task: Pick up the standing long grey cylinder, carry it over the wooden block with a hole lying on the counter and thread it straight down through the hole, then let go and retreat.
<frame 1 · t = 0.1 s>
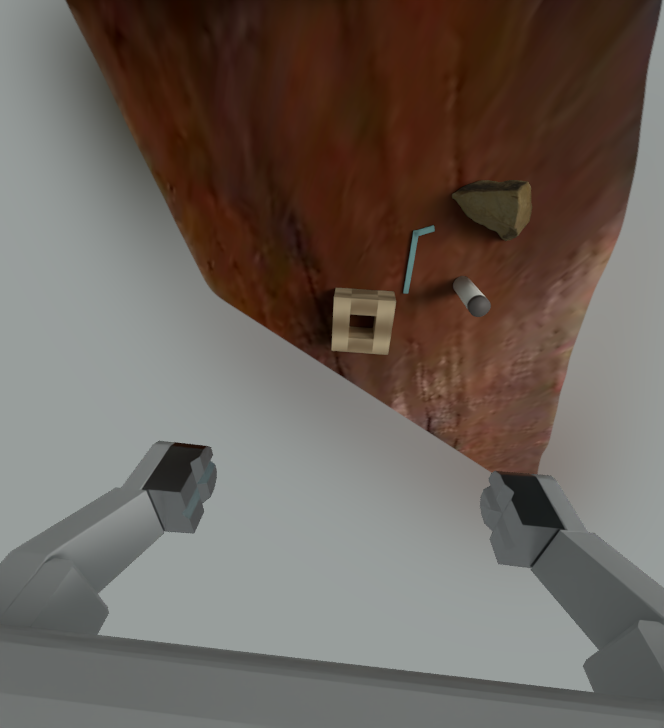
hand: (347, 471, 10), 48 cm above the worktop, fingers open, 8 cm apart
hex key: (410, 262, 53), on the worktop
wooden block with hole: (362, 316, 58), on the worktop
long grey cylinder: (461, 284, 54), on the worktop
rock: (486, 212, 48), on the worktop
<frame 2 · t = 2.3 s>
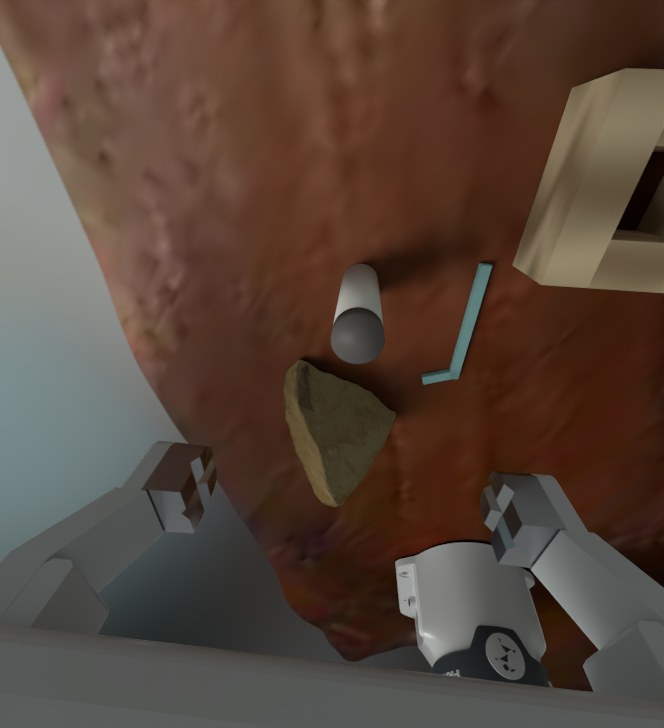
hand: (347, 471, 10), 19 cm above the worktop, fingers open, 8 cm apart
hex key: (466, 325, 26), on the worktop
wooden block with hole: (618, 191, 21), on the worktop
long grey cylinder: (360, 281, 25), on the worktop
rock: (339, 391, 31), on the worktop
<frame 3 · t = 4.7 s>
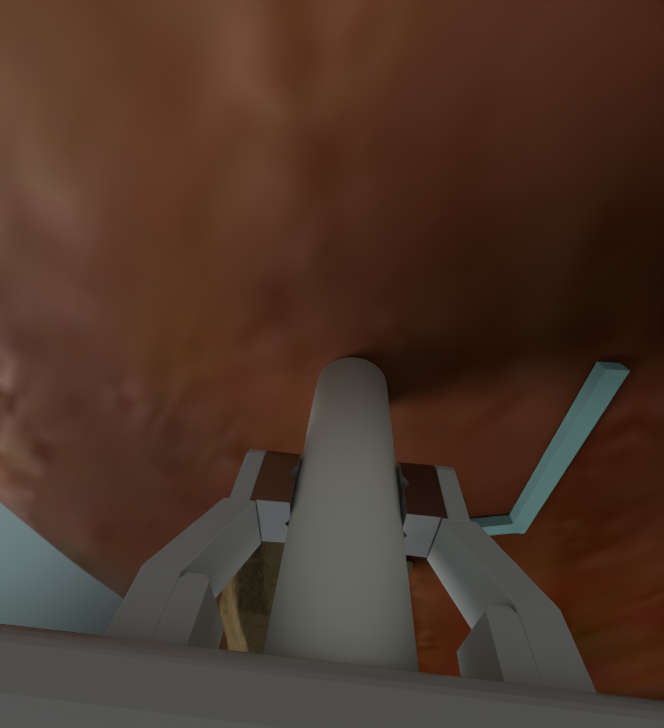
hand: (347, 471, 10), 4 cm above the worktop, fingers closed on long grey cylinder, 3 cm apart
hex key: (551, 458, 14), on the worktop
long grey cylinder: (351, 387, 13), on the worktop, touching gripper
rock: (321, 531, 19), on the worktop
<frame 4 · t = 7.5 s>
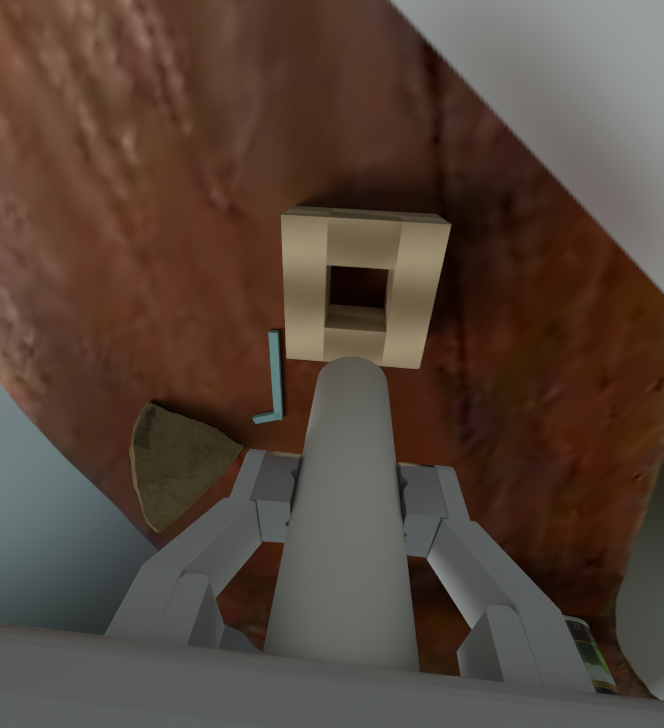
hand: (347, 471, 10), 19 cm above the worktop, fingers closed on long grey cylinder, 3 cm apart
hex key: (277, 377, 31), on the worktop
wooden block with hole: (358, 279, 25), on the worktop
long grey cylinder: (351, 386, 13), point 15 cm above the worktop, touching gripper
rock: (192, 427, 36), on the worktop
coffee can: (552, 626, 54), on the worktop
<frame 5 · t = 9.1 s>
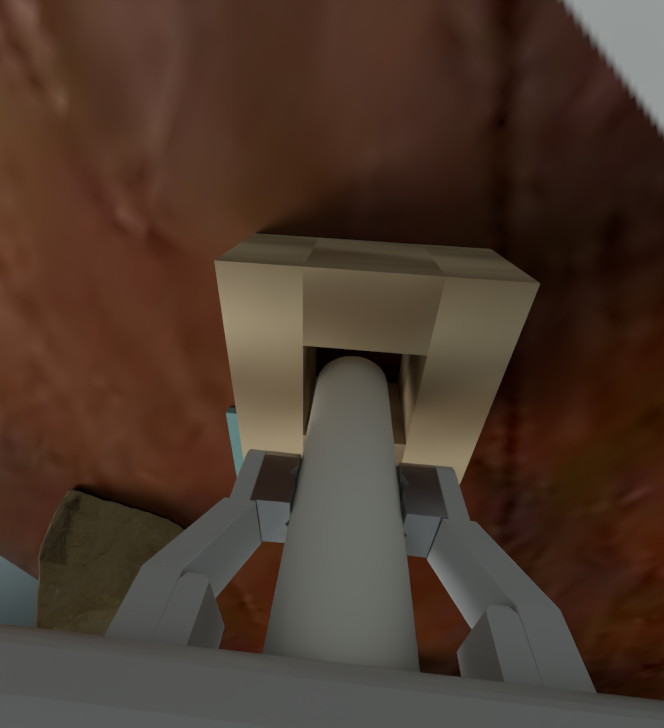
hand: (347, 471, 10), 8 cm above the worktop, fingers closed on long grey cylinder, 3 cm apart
hex key: (243, 464, 22), on the worktop
wooden block with hole: (359, 344, 16), on the worktop
long grey cylinder: (351, 386, 13), point 4 cm above the worktop, touching gripper
rock: (136, 514, 27), on the worktop
when the fingers open (6 cm above the worktop, at t = 10.2 s): long grey cylinder drops 1 cm, resting in wooden block with hole.
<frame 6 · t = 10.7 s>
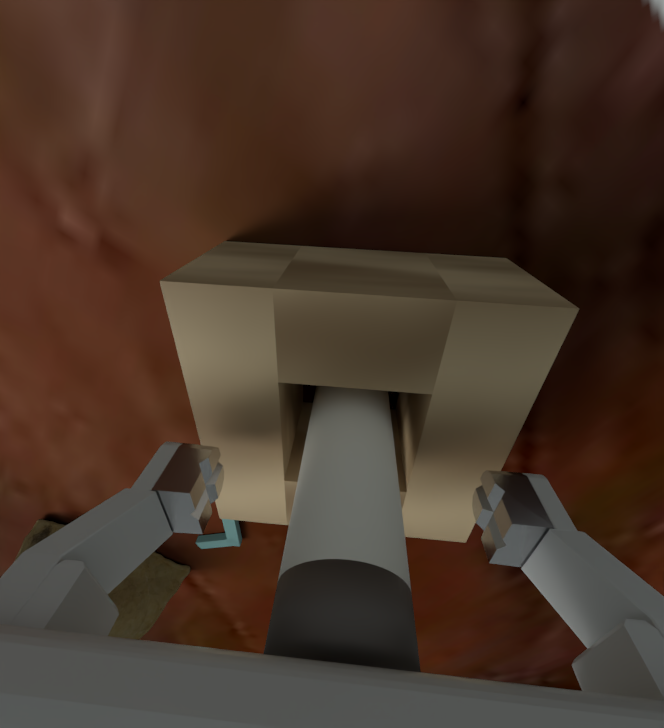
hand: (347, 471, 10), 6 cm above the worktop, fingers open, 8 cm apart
hex key: (226, 494, 20), on the worktop
wooden block with hole: (352, 366, 14), on the worktop
long grey cylinder: (352, 366, 14), resting in wooden block with hole
rock: (114, 543, 25), on the worktop
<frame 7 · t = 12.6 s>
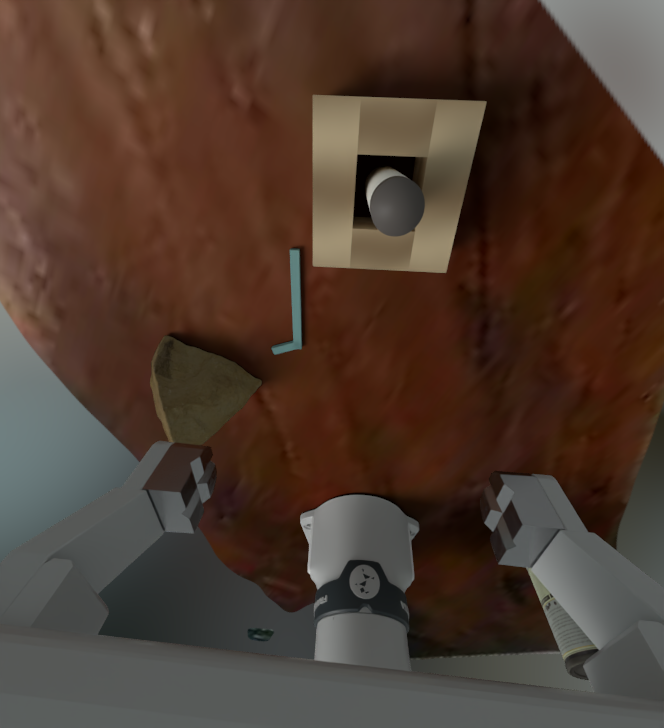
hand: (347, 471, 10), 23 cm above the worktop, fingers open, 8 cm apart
hex key: (296, 301, 31), on the worktop
wooden block with hole: (382, 187, 25), on the worktop
long grey cylinder: (382, 186, 25), resting in wooden block with hole
rock: (210, 362, 36), on the worktop
coffee can: (555, 560, 56), on the worktop
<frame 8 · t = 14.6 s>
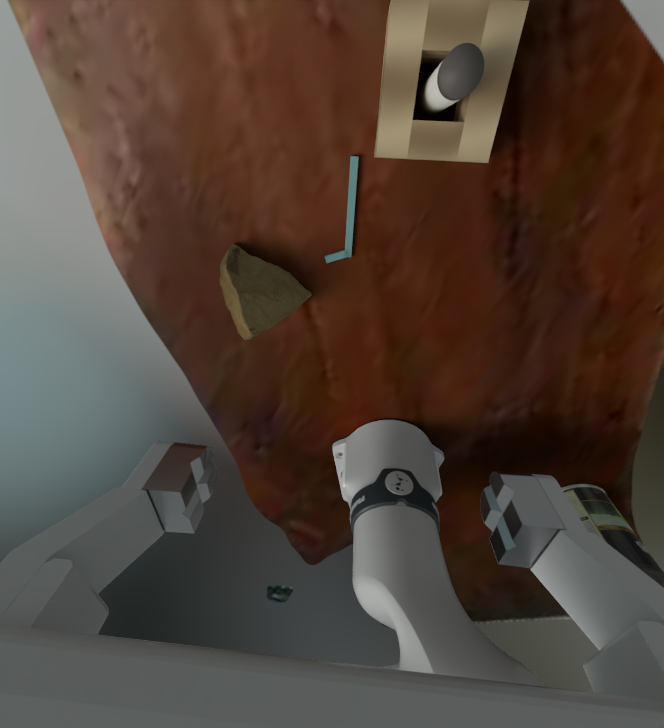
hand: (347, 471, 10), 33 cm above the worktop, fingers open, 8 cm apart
hex key: (351, 209, 36), on the worktop
wooden block with hole: (433, 96, 30), on the worktop
long grey cylinder: (433, 96, 30), resting in wooden block with hole
rock: (267, 274, 41), on the worktop
coffee can: (573, 500, 59), on the worktop
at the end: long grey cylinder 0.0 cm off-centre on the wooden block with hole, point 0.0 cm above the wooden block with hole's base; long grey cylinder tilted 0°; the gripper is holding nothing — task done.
